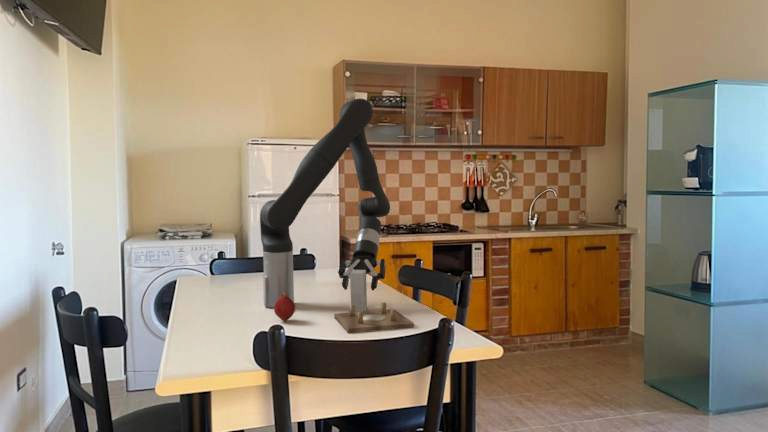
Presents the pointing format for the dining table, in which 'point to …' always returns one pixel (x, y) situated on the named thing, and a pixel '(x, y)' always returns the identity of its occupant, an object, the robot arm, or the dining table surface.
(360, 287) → the skincare box
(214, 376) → the dining table surface
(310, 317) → the dining table surface
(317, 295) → the dining table surface
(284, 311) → the onion
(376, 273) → the robot arm
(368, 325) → the standoff plate
